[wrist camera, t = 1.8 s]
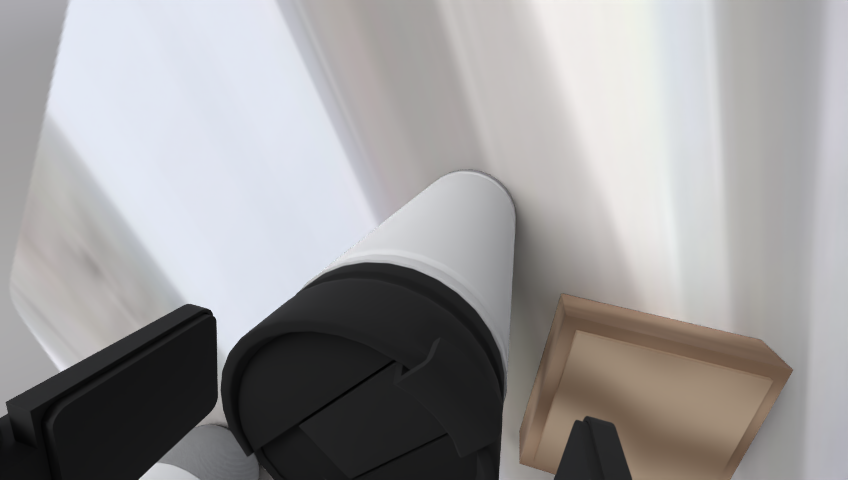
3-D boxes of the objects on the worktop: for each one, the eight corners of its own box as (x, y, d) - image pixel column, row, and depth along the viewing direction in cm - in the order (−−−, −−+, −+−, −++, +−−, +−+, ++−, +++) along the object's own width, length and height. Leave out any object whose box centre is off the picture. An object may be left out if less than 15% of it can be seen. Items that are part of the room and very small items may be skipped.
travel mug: (540, 220, 25) (597, 536, 6) (462, 277, 27) (336, 625, 9) (477, 144, 24) (337, 244, 6) (403, 209, 27) (137, 426, 8)
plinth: (561, 293, 26) (566, 317, 23) (761, 340, 24) (796, 373, 21) (519, 430, 30) (519, 467, 27) (687, 480, 28) (708, 526, 25)
